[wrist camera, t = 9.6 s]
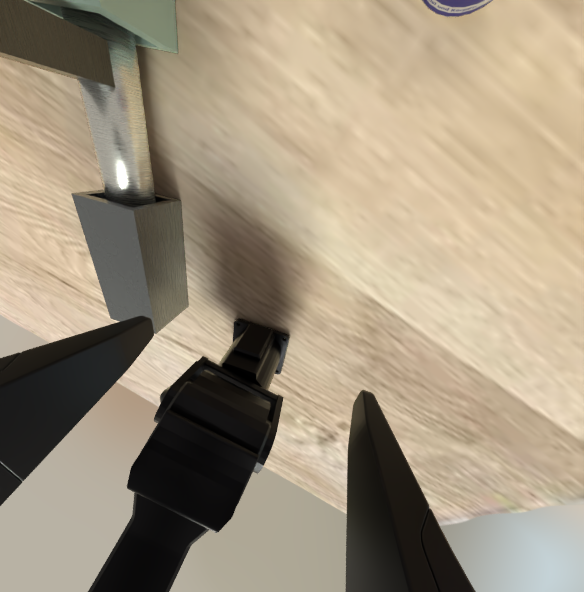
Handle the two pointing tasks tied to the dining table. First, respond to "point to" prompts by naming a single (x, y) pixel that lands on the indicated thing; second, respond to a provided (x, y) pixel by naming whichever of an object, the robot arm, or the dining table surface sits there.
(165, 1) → the socket block
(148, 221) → the sleeve
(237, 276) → the dining table surface
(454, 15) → the energy drink
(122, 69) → the tube
